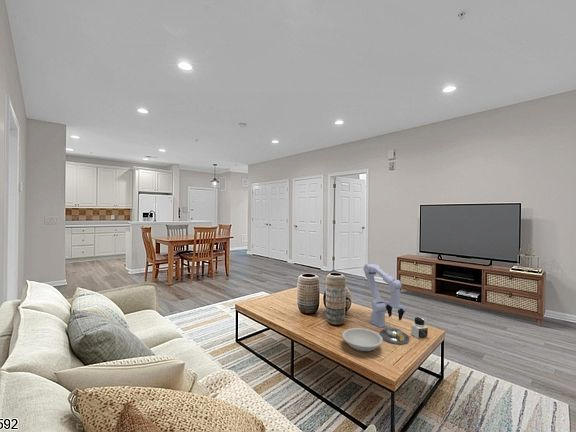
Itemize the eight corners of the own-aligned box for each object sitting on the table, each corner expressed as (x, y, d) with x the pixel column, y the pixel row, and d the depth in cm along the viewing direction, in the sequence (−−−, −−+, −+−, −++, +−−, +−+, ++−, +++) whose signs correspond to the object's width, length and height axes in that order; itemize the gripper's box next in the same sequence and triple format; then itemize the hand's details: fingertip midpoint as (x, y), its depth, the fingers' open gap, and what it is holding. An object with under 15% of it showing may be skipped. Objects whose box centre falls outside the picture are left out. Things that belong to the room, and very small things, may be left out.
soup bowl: (352, 334, 185) (352, 324, 185) (388, 346, 170) (388, 335, 170) (334, 348, 167) (334, 337, 166) (373, 363, 151) (373, 351, 151)
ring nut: (398, 342, 171) (398, 337, 171) (380, 331, 186) (380, 326, 186) (409, 339, 175) (409, 334, 175) (390, 328, 190) (390, 324, 190)
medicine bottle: (418, 339, 179) (419, 321, 178) (410, 334, 186) (411, 316, 185) (427, 338, 181) (428, 320, 180) (419, 333, 188) (420, 315, 187)
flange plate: (373, 335, 183) (374, 333, 183) (390, 329, 193) (390, 326, 193) (398, 347, 168) (398, 344, 168) (414, 339, 178) (414, 337, 178)
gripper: (382, 296, 190) (382, 316, 190) (401, 302, 178) (401, 323, 178) (388, 294, 194) (388, 313, 194) (407, 300, 182) (407, 320, 182)
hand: (395, 318), depth 186 cm, fingers open, 7 cm apart
